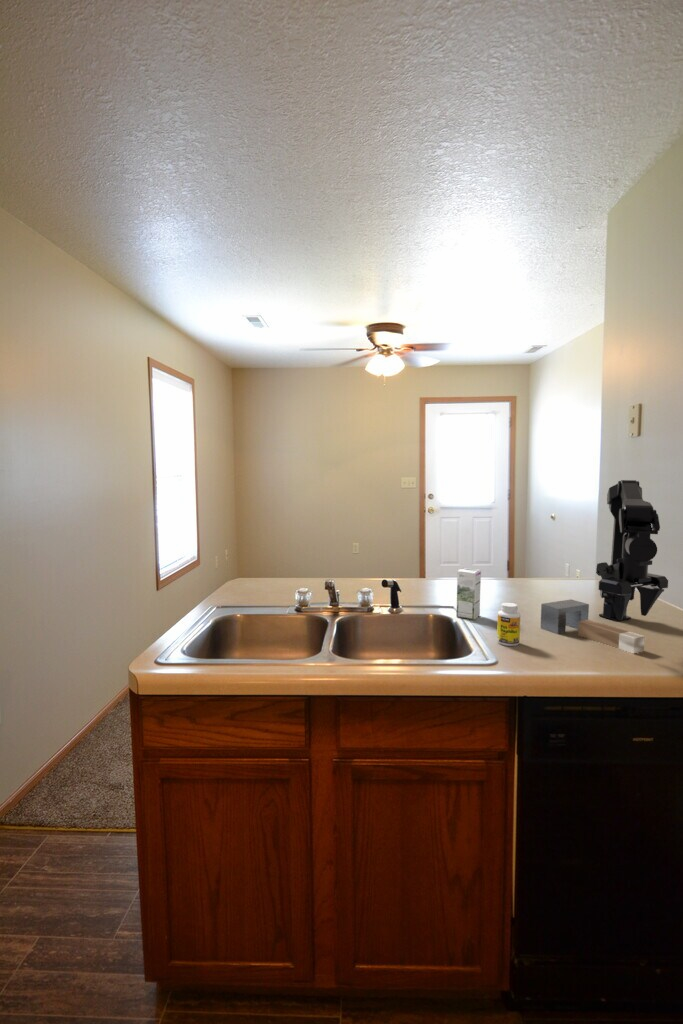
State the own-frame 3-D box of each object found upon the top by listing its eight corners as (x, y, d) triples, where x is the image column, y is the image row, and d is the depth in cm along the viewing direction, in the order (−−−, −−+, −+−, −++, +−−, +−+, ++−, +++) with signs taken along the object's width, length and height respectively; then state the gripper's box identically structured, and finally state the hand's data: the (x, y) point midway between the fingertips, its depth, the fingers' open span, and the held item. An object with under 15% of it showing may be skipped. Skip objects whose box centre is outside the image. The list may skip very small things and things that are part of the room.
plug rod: (588, 633, 144) (588, 619, 144) (643, 651, 130) (644, 636, 130) (577, 635, 143) (578, 621, 142) (633, 654, 128) (634, 638, 128)
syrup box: (480, 615, 161) (481, 569, 160) (474, 620, 156) (475, 572, 155) (462, 613, 164) (463, 567, 163) (455, 617, 159) (456, 570, 158)
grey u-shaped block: (570, 622, 154) (571, 599, 154) (587, 628, 149) (588, 604, 149) (540, 628, 149) (541, 603, 149) (557, 634, 144) (558, 608, 143)
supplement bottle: (496, 645, 134) (497, 606, 133) (497, 638, 139) (498, 600, 138) (519, 647, 132) (521, 608, 131) (519, 641, 138) (520, 602, 137)
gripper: (629, 548, 141) (626, 606, 142) (580, 553, 132) (578, 613, 133) (671, 554, 131) (667, 616, 132) (621, 559, 122) (618, 625, 123)
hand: (631, 617), depth 130 cm, fingers open, 9 cm apart
